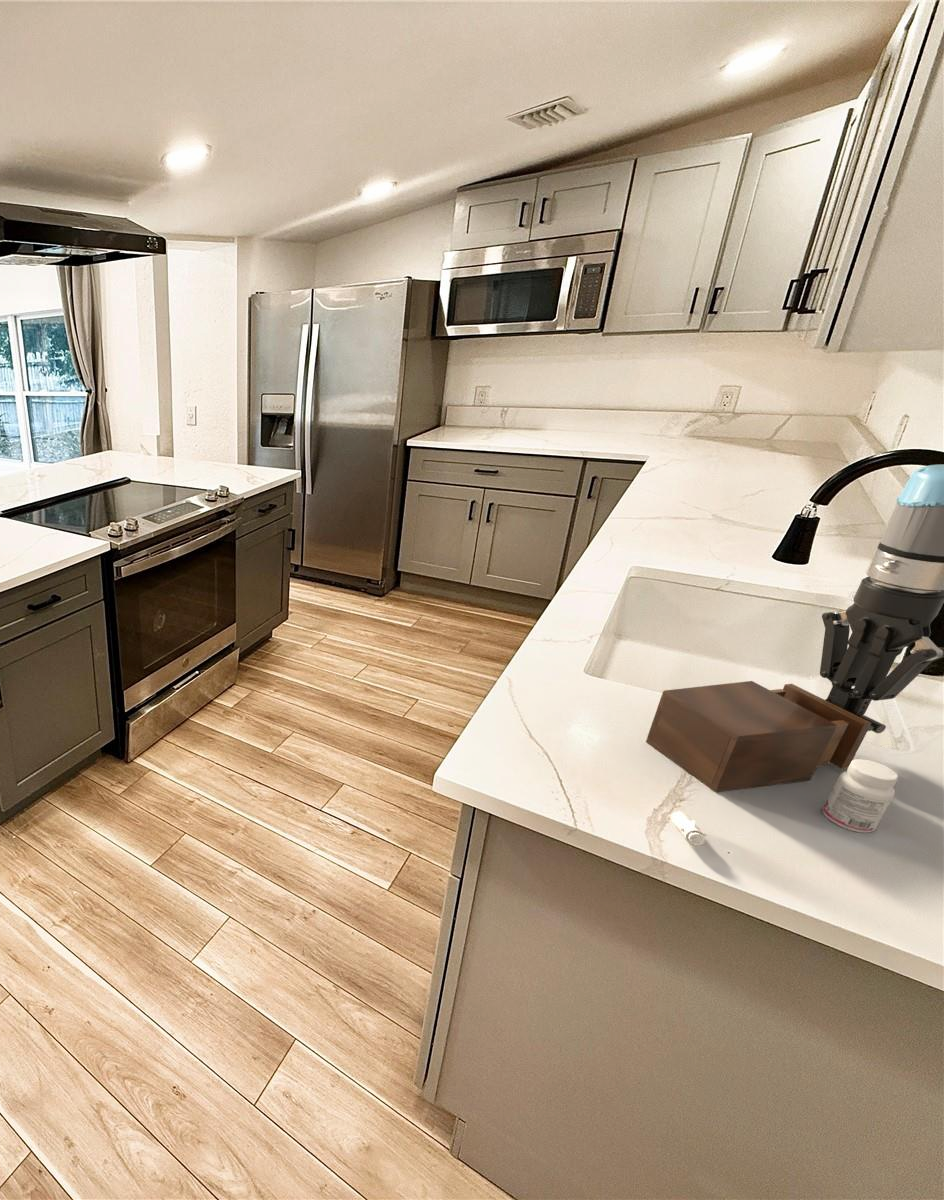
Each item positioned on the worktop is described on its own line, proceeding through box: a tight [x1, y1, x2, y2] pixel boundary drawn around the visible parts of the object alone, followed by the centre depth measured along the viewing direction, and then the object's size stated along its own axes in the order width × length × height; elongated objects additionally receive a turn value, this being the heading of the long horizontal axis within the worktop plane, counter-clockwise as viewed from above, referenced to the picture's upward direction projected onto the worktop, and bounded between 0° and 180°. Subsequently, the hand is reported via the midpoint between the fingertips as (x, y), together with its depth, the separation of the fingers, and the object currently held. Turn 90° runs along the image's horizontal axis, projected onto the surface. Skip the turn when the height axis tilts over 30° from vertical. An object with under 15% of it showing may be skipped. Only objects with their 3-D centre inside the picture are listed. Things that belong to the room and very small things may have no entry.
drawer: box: [769, 683, 887, 770], centre depth 90 cm, size 19×10×8 cm, turn 96°
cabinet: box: [645, 680, 837, 793], centre depth 90 cm, size 15×12×10 cm
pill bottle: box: [822, 758, 899, 834], centre depth 78 cm, size 5×5×8 cm
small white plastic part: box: [670, 811, 707, 846], centre depth 79 cm, size 4×6×3 cm, turn 134°
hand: (834, 728), depth 91 cm, fingers closed
